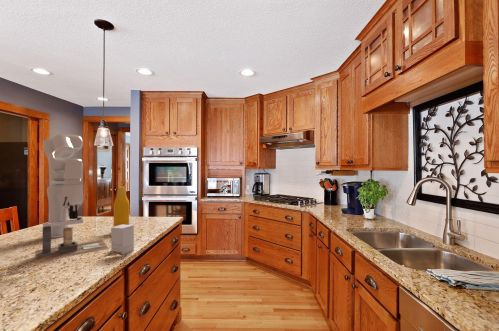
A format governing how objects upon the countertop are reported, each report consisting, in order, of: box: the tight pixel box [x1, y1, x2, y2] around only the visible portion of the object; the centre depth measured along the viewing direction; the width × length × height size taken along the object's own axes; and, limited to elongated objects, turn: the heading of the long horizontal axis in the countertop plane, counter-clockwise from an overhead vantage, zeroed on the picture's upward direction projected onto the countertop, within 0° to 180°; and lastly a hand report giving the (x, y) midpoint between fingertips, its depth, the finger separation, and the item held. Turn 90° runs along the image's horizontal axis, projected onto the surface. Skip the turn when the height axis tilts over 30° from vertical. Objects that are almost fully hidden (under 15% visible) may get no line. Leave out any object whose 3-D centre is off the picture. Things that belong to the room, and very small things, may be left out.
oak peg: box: [62, 226, 74, 246], centre depth 120 cm, size 4×4×11 cm
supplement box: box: [110, 224, 135, 255], centre depth 122 cm, size 7×7×13 cm
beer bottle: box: [113, 186, 130, 227], centre depth 161 cm, size 9×9×29 cm
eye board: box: [34, 227, 110, 263], centre depth 121 cm, size 20×28×14 cm
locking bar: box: [42, 216, 84, 229], centre depth 119 cm, size 16×3×3 cm, turn 130°
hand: (73, 218), depth 125 cm, fingers closed
